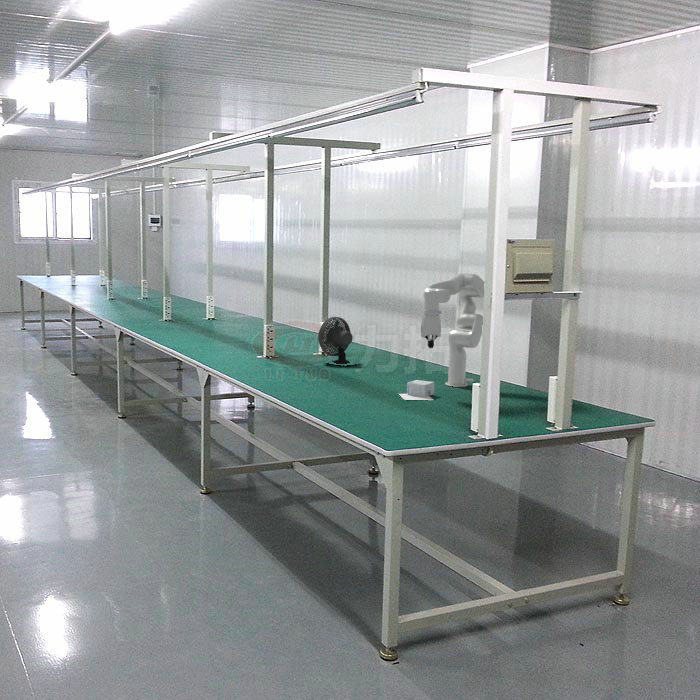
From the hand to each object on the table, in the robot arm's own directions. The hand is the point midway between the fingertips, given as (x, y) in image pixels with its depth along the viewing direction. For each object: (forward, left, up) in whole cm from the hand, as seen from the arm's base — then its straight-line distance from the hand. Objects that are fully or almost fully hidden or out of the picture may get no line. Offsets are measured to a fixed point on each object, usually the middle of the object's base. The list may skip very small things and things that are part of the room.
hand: (430, 347), depth 403 cm
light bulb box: (+2, +9, -21) cm, 23 cm away
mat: (+10, +11, -24) cm, 29 cm away
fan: (+34, -100, -25) cm, 108 cm away
